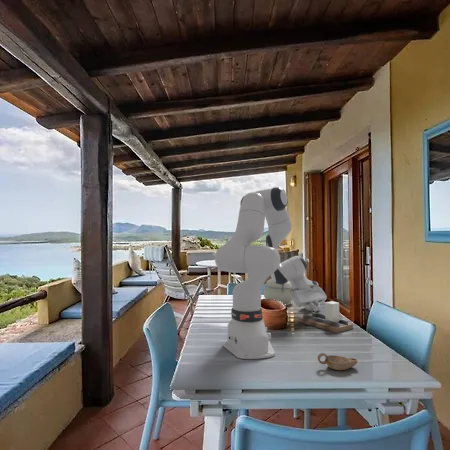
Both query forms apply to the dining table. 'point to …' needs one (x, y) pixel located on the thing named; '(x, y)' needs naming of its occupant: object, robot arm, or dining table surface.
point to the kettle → (278, 291)
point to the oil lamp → (337, 361)
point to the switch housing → (325, 322)
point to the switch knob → (332, 311)
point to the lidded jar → (309, 307)
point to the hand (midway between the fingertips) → (318, 310)
